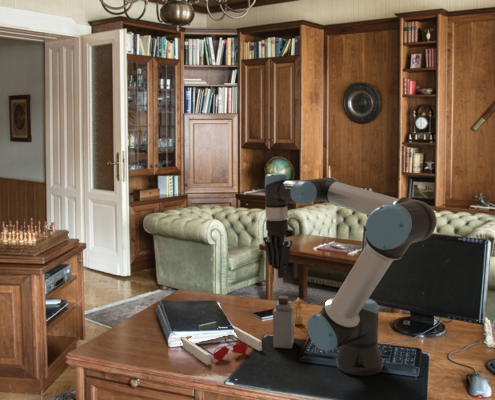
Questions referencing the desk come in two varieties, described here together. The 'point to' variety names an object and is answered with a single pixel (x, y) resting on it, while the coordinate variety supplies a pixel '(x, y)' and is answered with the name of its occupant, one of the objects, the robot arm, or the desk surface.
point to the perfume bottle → (283, 323)
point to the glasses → (224, 350)
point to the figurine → (298, 318)
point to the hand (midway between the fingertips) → (278, 286)
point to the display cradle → (205, 356)
